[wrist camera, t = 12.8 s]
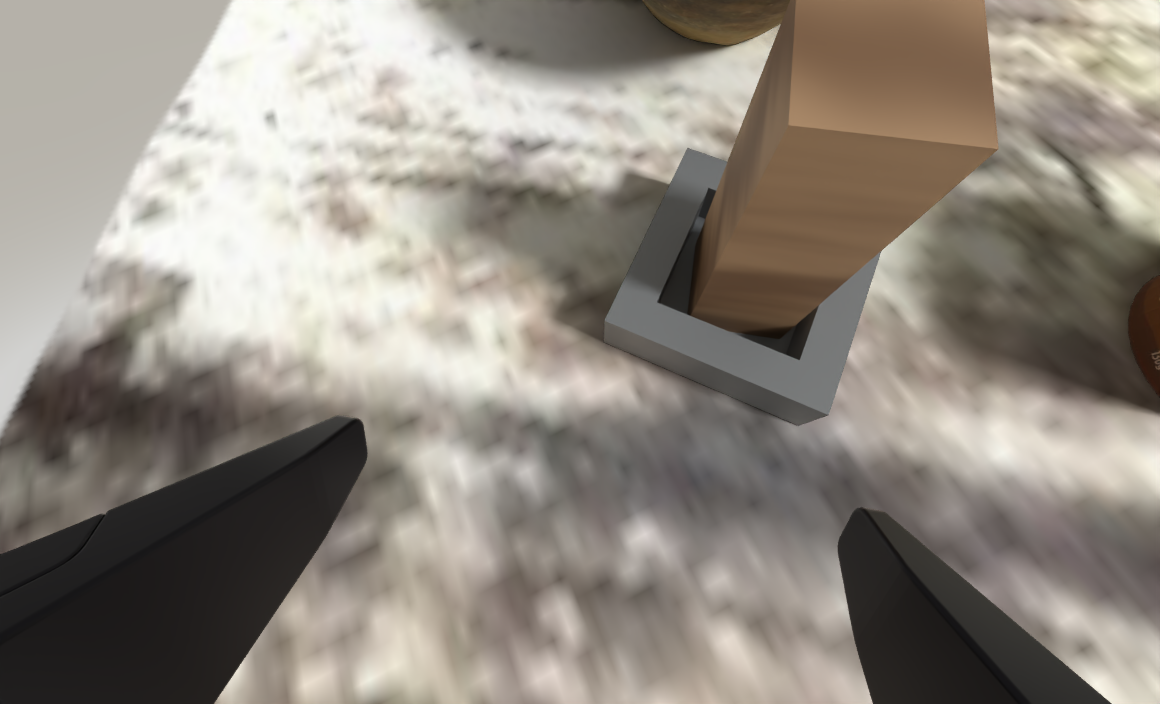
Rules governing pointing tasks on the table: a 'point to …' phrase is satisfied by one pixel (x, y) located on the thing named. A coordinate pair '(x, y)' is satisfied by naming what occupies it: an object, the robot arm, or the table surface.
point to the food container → (1147, 331)
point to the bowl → (719, 18)
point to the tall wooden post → (841, 153)
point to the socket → (713, 355)
